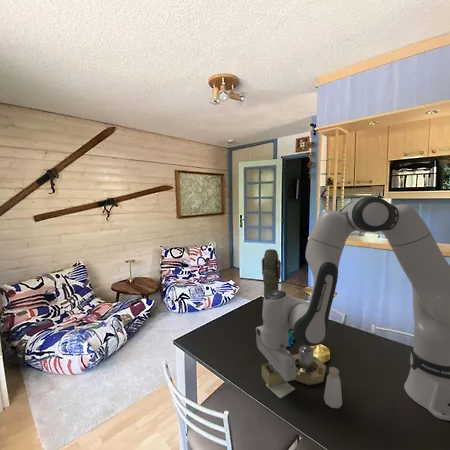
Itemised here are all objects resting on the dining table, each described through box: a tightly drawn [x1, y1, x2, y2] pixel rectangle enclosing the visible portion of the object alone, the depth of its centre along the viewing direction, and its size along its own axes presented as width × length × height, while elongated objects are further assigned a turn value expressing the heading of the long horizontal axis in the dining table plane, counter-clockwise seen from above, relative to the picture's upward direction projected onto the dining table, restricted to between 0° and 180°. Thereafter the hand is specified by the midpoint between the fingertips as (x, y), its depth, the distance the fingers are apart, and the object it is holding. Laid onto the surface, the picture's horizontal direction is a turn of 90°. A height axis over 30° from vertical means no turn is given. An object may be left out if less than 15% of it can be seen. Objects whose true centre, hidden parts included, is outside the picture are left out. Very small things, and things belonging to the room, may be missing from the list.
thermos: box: [261, 248, 282, 302], centre depth 141 cm, size 9×12×35 cm
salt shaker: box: [323, 366, 343, 409], centre depth 80 cm, size 5×5×11 cm
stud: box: [296, 344, 316, 373], centre depth 93 cm, size 7×7×10 cm
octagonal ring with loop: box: [261, 353, 327, 388], centre depth 92 cm, size 23×13×4 cm, turn 105°
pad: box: [265, 381, 296, 399], centre depth 87 cm, size 7×7×1 cm
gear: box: [286, 329, 295, 348], centre depth 113 cm, size 11×6×10 cm
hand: (274, 374), depth 90 cm, fingers closed
